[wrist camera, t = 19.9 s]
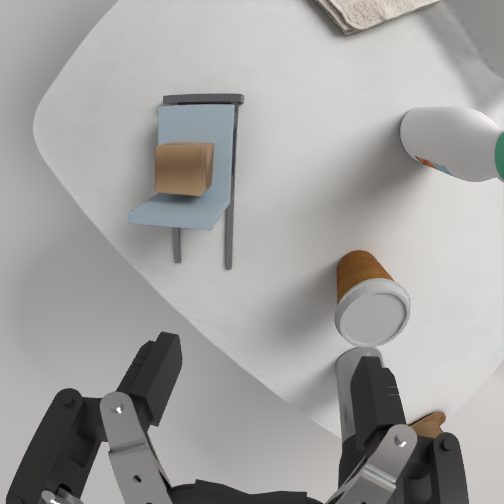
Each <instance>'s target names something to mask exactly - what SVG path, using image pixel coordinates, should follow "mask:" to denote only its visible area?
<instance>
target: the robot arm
mask: <svg viewBox="0 0 504 504" xmlns="http://www.w3.org/2000/svg"><path fill="white" fill-rule="evenodd" d="M181 367H182V352H181V345H180V338H179V335H177V334H172V333H166V332H161V333H160V335H159V336H158V338H157V340H156V342H154V341H150V340H149V341H148V342H147V343H146V344H144V345H143V346H142V347H141V348H140V350H139V351H138V353H137V355H136V358H134V360H133V362H132V365H130V367H129V369H128V371H127V372H126V374H125V376H124V378H123V380H122V381H121V383H120V385H119V387H118V388H117V390H116V391H115V392H112V393H109V394H107V395H105V396H104V397H103V398H88V397H82V396H81V394H80V393H79V392H78V391H77V390H75V389H72V388H67V389H63V390H61V391H60V392H58V393H57V395H56V396H55V398H54V400H53V401H52V403H51V405H50V407H49V408H48V410H47V412H46V414H45V416H44V418H43V419H42V421H41V423H40V425H39V427H38V429H37V431H36V433H35V435H34V437H33V439H32V441H31V442H30V445H29V447H28V449H27V451H26V453H25V455H24V457H23V459H22V461H21V463H20V466H19V468H18V470H17V472H16V475H15V477H14V479H13V482H12V484H11V487H10V489H9V491H8V494H7V497H6V504H84V503H83V502H82V501H81V500H80V497H81V495H82V492H83V489H84V486H85V484H86V481H87V478H88V475H89V473H90V470H91V467H92V465H93V462H94V460H95V457H96V454H97V452H98V449H99V447H100V444H101V442H102V441H103V442H108V443H109V446H110V451H109V452H108V453H109V459H110V462H111V465H112V468H113V471H114V474H115V477H116V480H117V483H118V486H119V488H120V491H121V493H122V496H123V499H124V501H125V504H323V503H322V502H320V501H317V500H316V499H313V498H310V497H307V492H288V491H276V492H269V493H261V494H247V493H244V492H241V491H239V490H236V489H234V488H231V487H228V486H225V485H223V484H218V483H213V482H207V481H203V480H198V479H196V482H195V484H183V485H179V486H175V487H172V486H171V484H170V481H169V479H168V478H167V476H166V474H165V472H164V470H163V468H162V466H161V464H160V462H159V459H158V457H157V455H156V452H155V450H154V448H153V445H152V443H151V440H150V438H149V435H148V433H147V431H148V429H149V426H150V425H154V426H158V425H159V423H160V420H161V418H162V415H163V412H164V410H165V407H166V405H167V402H168V400H169V397H170V395H171V392H172V390H173V388H174V385H175V383H176V380H177V378H178V375H179V373H180V370H181ZM336 376H337V387H338V397H339V408H340V421H341V433H342V456H341V459H340V464H339V481H338V490H337V491H336V492H335V493H334V494H333V495H332V496H331V498H330V499H329V500H328V501H327V502H326V503H325V504H469V500H468V491H467V483H466V476H465V470H464V464H463V459H462V454H461V449H460V444H459V441H458V439H457V438H456V437H455V436H454V435H453V434H451V433H448V432H445V433H441V434H439V435H438V436H437V437H436V438H431V437H425V436H420V435H417V434H416V433H415V431H414V430H413V429H412V428H411V427H410V426H408V425H407V424H406V420H405V416H404V412H403V407H402V403H401V399H400V395H399V392H398V388H397V384H396V380H395V377H394V375H393V374H392V372H391V371H390V370H389V369H388V368H385V366H384V363H383V359H382V356H381V353H380V352H379V351H378V350H376V349H375V348H372V347H371V348H368V347H358V348H354V349H351V350H349V351H347V352H346V353H344V354H343V355H342V356H341V357H340V358H339V359H338V360H337V362H336Z"/></svg>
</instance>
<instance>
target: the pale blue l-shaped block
mask: <svg viewBox="0 0 504 504" xmlns="http://www.w3.org/2000/svg"><path fill="white" fill-rule="evenodd" d="M234 107H235V105H227V104H203V105H174V106H158V145H162V144H166V143H171V142H198V143H214V157H213V176H212V185H211V186H210V187H209V188H208V189H207V190H206V191H205V192H204V193H202V194H201V195H200V196H194V195H182V194H170V193H159V194H157V195H155V196H154V197H152V198H151V199H149V200H148V201H146V202H145V203H143V204H142V205H140V206H139V207H137V208H136V209H134V210H133V211H131V212H130V213H128V214H127V215H128V223H133V224H145V225H156V226H167V227H178V228H189V229H200V230H210V231H211V230H212V228H213V227H214V225H215V224H216V223H217V221H218V220H219V218H220V217H221V215H222V214H223V212H224V211H225V209H226V208H227V207H228V205H229V204H230V194H232V191H233V185H234V178H233V175H231V168H232V146H233V131H235V129H236V122H237V116H236V112H234Z"/></svg>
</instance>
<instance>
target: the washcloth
mask: <svg viewBox="0 0 504 504" xmlns="http://www.w3.org/2000/svg"><path fill="white" fill-rule="evenodd" d="M315 1H316V2H317V3H318V4H319V5H320V6H321V7H322V8H323V9H324V10H325V11H326V13H327V14H328V15H329V16H330V18H331V19H332V20H333V21H334V22H335V23H336V25H337V26H338V27H339V28H340V29H341V30H342V32H343V33H344V34H345V35H350V34H353V33H356V32H360V31H362V30H365V29H368V28H373V27H375V26H378V25H380V24H383V23H385V22H387V21H390V20H392V19H395V18H398V17H400V16H403V15H406V14H408V13H411V12H413V11H416V10H419V9H423V8H426V7H429V6H431V5H434V4H436V3H438V2H439V1H440V0H315Z"/></svg>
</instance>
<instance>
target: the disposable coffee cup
mask: <svg viewBox="0 0 504 504" xmlns="http://www.w3.org/2000/svg"><path fill="white" fill-rule="evenodd" d="M337 303H338V304H337V308H336V311H335V326H336V328H337V330H338V332H339V333H340V334H341V335H342V336H343V337H344V339H345V340H346V341H347V342H349V343H350V344H352V345H354V346H358V347H368V348H371V347H376V346H380V345H383V344H385V343H388V342H389V341H391V340H393V339H394V338H395V337H396V336H397V335H399V334H400V333H401V332H402V331H403V329H404V328H405V326H406V324H407V322H408V320H409V316H410V298H409V295H408V293H407V291H406V290H405V289H404V287H403V286H401V285H400V284H398V283H397V282H395V281H394V280H393V279H392V278H391V276H390V275H389V274H388V273H387V272H386V270H385V269H384V268H383V267H382V266H381V265H380V263H379V262H378V261H377V260H376V259H375V258H374V256H373V255H372V254H370V253H369V252H366V251H361V250H358V251H353V252H350V253H348V254H347V255H345V256H344V257H343V258H342V259H341V261H340V262H339V264H338V267H337Z"/></svg>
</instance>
